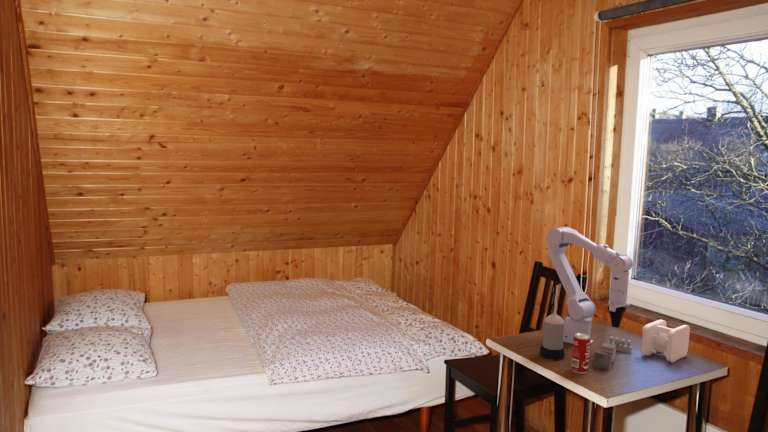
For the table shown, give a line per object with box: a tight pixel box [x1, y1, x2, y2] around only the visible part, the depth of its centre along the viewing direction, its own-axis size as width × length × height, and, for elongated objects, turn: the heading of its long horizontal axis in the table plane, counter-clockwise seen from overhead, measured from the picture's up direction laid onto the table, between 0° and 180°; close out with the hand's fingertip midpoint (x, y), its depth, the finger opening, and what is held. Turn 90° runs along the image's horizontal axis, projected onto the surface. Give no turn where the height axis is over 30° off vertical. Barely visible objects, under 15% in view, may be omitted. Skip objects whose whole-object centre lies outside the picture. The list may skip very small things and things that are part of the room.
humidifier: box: [539, 284, 566, 361], centre depth 203 cm, size 8×8×25 cm
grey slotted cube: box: [600, 342, 617, 363], centre depth 199 cm, size 4×4×5 cm
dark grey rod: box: [600, 340, 622, 353], centre depth 204 cm, size 21×4×4 cm, turn 144°
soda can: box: [570, 333, 591, 375], centre depth 190 cm, size 5×5×12 cm
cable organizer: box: [640, 319, 691, 364], centre depth 207 cm, size 15×11×12 cm
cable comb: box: [607, 335, 633, 354], centre depth 212 cm, size 2×8×4 cm, turn 55°
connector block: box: [593, 349, 613, 371], centre depth 195 cm, size 3×5×5 cm, turn 54°
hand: (615, 326), depth 209 cm, fingers closed
